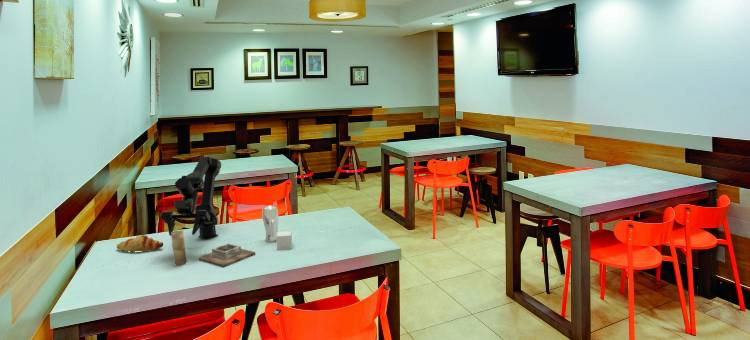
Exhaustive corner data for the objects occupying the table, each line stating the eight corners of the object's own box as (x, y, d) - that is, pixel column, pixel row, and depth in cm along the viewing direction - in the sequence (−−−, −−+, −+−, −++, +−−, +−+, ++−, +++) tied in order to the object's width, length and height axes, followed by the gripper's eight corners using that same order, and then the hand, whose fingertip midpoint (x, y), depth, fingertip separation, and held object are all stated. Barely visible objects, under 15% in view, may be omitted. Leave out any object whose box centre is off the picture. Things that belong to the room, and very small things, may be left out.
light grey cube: (292, 244, 206) (291, 231, 205) (291, 248, 200) (290, 235, 199) (278, 245, 205) (277, 232, 204) (277, 249, 200) (276, 236, 198)
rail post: (182, 260, 190) (178, 229, 188) (188, 262, 188) (185, 231, 186) (172, 264, 187) (168, 232, 185) (178, 266, 184) (175, 234, 182)
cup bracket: (230, 247, 204) (229, 239, 203) (255, 254, 195) (254, 245, 194) (198, 259, 191) (197, 250, 190) (223, 267, 182) (222, 257, 181)
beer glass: (281, 237, 216) (279, 205, 213) (277, 242, 209) (274, 209, 206) (267, 237, 217) (264, 205, 214) (262, 242, 210) (259, 209, 207)
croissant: (114, 260, 204) (106, 247, 199) (124, 242, 212) (117, 230, 207) (162, 258, 203) (155, 245, 198) (170, 240, 211) (164, 228, 206)
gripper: (159, 192, 192) (150, 226, 183) (205, 190, 192) (198, 224, 183) (169, 206, 201) (161, 239, 192) (213, 204, 201) (206, 237, 192)
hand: (181, 234), depth 189 cm, fingers open, 9 cm apart
